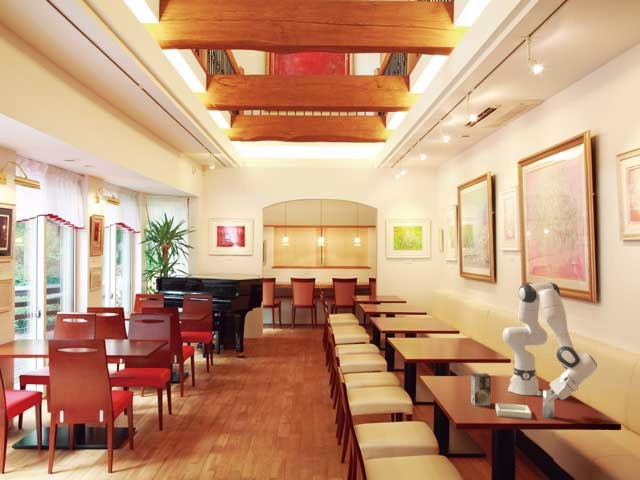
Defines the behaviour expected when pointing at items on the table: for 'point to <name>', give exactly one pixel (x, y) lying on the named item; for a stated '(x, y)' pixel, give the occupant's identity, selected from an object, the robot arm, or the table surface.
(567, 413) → the table surface
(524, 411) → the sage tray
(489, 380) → the coffee box
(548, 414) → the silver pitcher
